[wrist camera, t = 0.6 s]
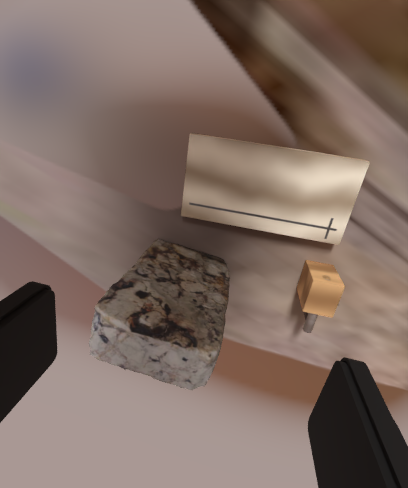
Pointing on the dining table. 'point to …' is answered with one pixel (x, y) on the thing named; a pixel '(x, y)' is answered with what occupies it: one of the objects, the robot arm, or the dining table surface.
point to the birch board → (270, 187)
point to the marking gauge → (318, 291)
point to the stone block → (165, 316)
